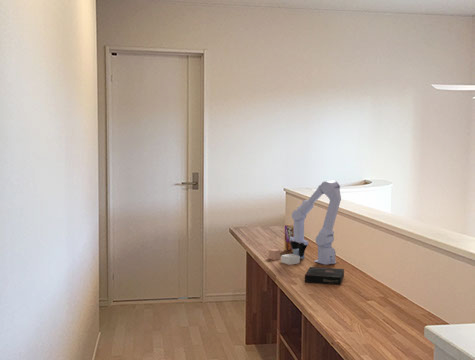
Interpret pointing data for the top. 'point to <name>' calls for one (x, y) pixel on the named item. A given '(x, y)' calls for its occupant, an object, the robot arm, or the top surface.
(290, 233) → the candy box
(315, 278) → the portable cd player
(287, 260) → the white block
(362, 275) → the top surface
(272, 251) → the terracotta block
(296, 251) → the slate cube
